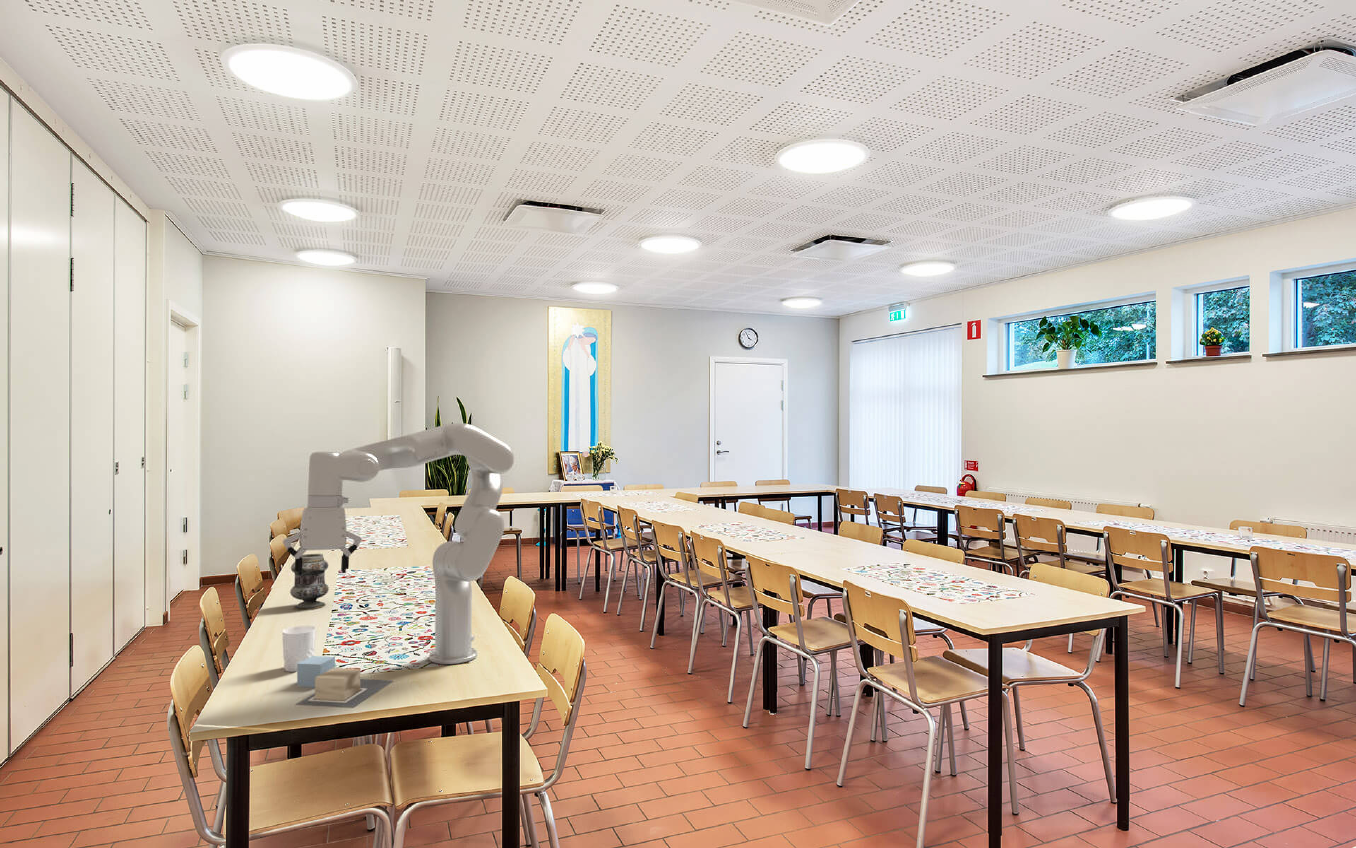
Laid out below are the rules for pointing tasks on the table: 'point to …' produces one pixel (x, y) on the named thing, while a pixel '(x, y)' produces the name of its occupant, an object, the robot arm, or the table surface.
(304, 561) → the apothecary jar
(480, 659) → the table surface
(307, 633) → the white cup
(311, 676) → the blue block
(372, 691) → the mat
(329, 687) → the base block
